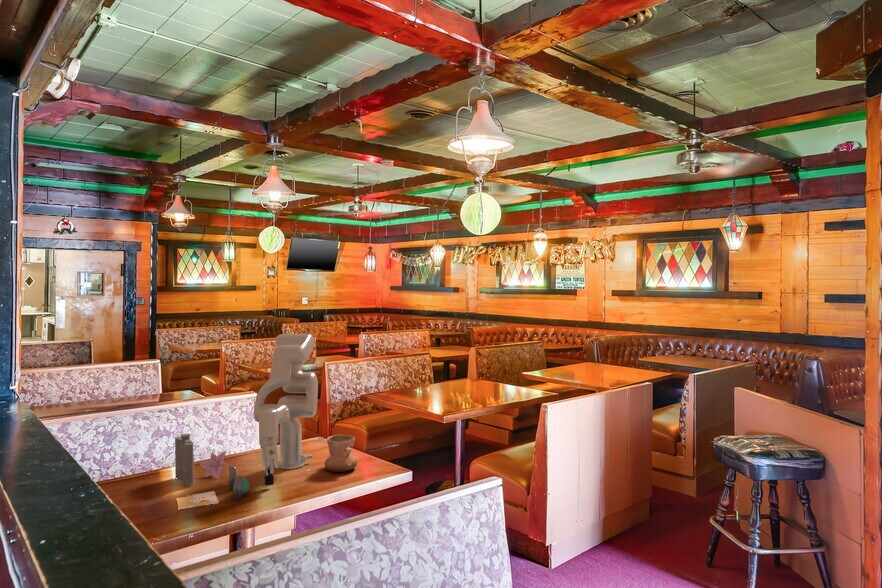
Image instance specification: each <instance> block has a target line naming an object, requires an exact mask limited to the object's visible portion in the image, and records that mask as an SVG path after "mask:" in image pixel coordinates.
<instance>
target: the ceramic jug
mask: <svg viewBox="0 0 882 588" xmlns="http://www.w3.org/2000/svg"><path fill="white" fill-rule="evenodd" d="M326 441H327V445H328V451H329V456H328V457H327V458H326V459H325V461H324V467H325V468H326V469H327V470H329V471H330V472H334V473H346V472H348V471H351V470H353V469H354V468H357V465H358V460H357V458H356V457H355V455H352V454H351V453H352V450H353V447H354V444H355V441H356V439H355V436H353V435H349V434H348V435H347V434H334V435H331V436H328V437H327V439H326Z"/></svg>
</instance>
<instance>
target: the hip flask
mask: <svg viewBox="0 0 882 588" xmlns="http://www.w3.org/2000/svg"><path fill="white" fill-rule="evenodd" d="M174 450H175V451H174V455H175V457H174V458H175V463H174V464H175V467H174V468H175V469H174V471H175V479H176V478H177V479H179V480H181V481H182V482H183V483H184V484H185V485H184V484H183V483H182V482H181V481H180V482H181V483H182V484H183V485H184V487H185V486H186V488H192V487H191V486H193V487H194V486H195V472H194V471H195V470H194V469H195V468H194V466H195V465H194V462H195V461H194V460H195V459H194V451H195V450H194V442H193V441H192V440H191V433H182V434H180V436H176V437H174ZM177 479H176V480H177ZM179 480H178V481H179Z"/></svg>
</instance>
